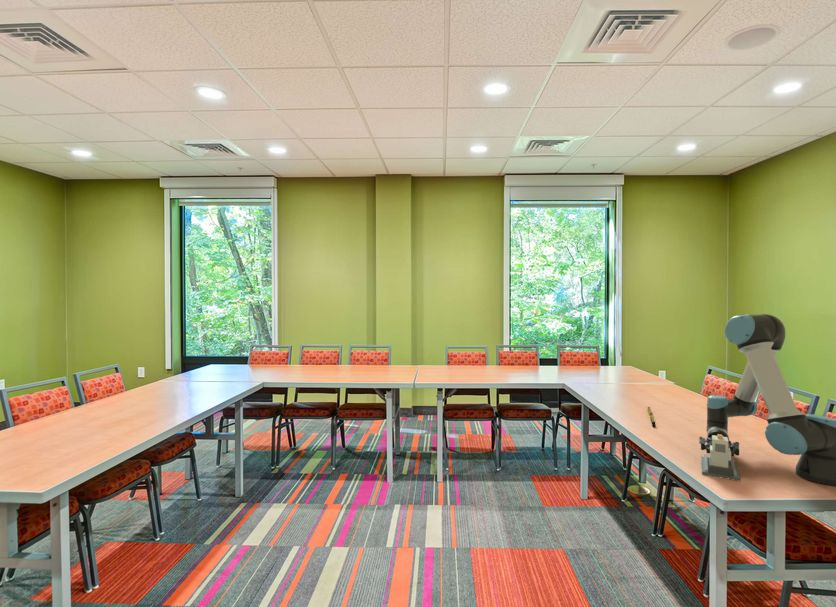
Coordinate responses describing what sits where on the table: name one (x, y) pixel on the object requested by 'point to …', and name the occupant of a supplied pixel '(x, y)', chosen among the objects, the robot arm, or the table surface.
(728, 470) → the rail board
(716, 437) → the din module
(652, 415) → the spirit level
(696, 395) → the table surface
